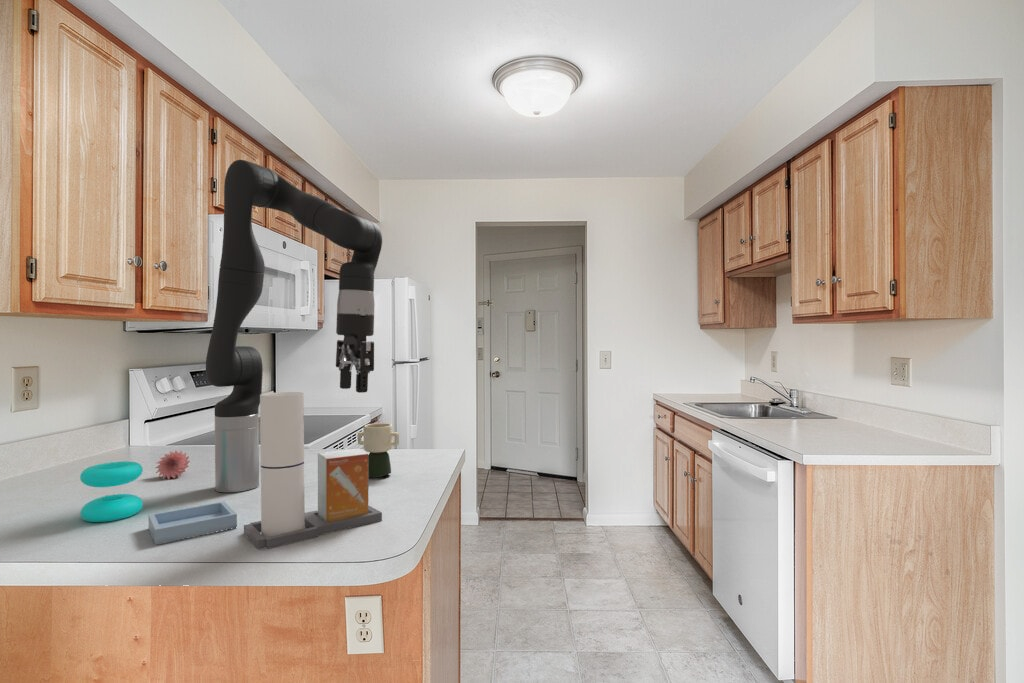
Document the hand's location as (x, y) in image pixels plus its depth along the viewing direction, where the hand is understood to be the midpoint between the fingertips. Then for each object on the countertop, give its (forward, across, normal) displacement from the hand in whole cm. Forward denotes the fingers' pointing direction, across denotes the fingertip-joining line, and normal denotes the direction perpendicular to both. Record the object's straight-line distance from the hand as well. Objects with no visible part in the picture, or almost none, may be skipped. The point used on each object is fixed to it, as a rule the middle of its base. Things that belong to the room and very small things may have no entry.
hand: (353, 390), depth 113 cm
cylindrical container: (+25, +9, -16) cm, 30 cm away
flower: (+26, -52, -25) cm, 64 cm away
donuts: (+26, -24, -39) cm, 53 cm away
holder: (+24, +9, -10) cm, 28 cm away
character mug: (+24, -18, +15) cm, 34 cm away
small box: (+24, +9, -5) cm, 26 cm away
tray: (+25, -5, -28) cm, 38 cm away
